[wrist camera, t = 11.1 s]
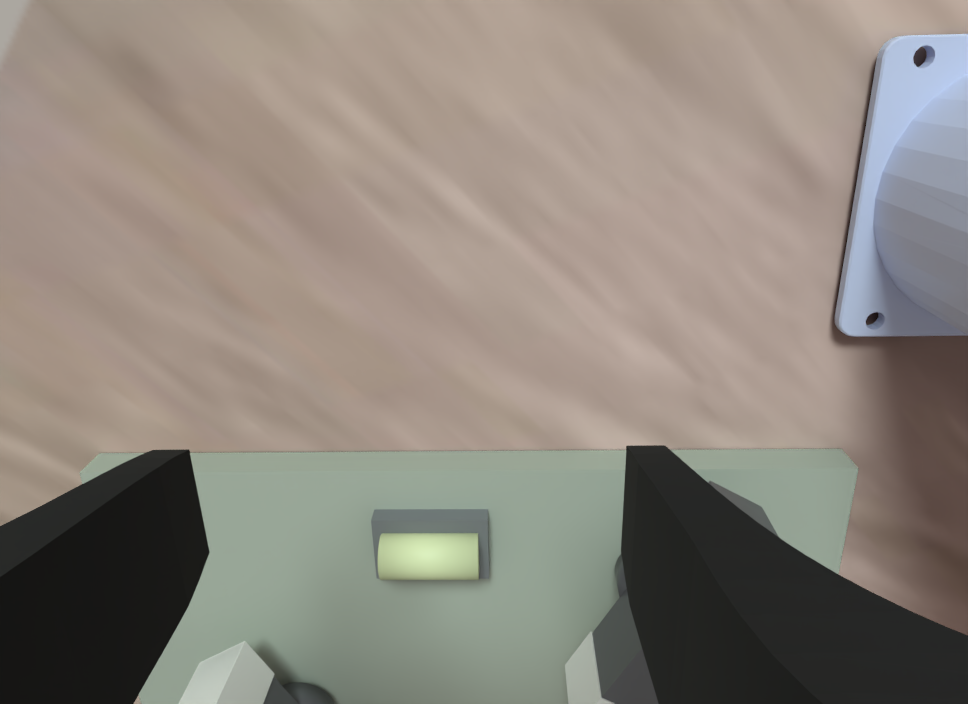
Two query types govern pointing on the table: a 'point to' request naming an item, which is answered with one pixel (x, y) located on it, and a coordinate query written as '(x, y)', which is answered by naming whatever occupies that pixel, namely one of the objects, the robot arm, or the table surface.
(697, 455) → the base plate
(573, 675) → the knob
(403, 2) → the table surface
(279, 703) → the knob
